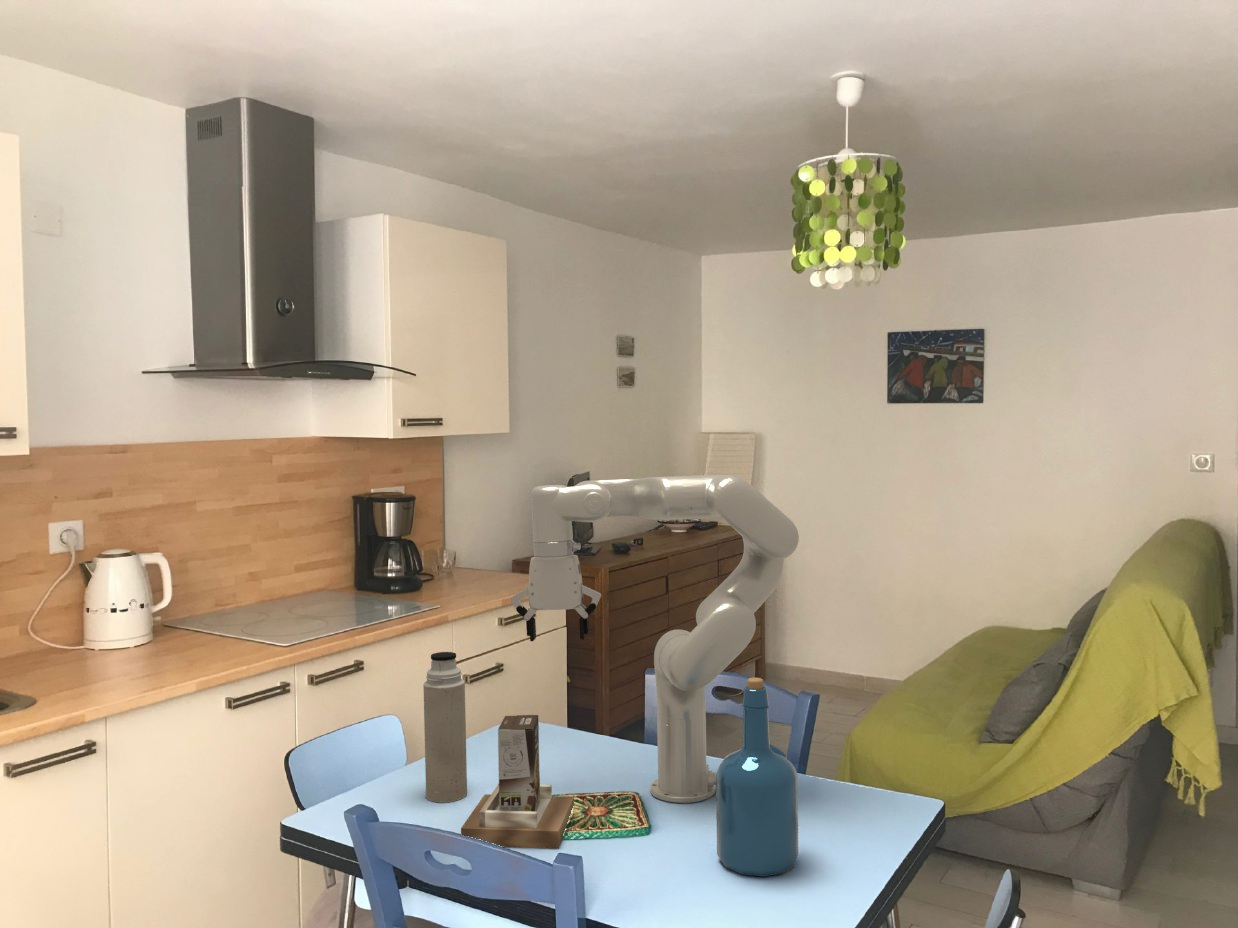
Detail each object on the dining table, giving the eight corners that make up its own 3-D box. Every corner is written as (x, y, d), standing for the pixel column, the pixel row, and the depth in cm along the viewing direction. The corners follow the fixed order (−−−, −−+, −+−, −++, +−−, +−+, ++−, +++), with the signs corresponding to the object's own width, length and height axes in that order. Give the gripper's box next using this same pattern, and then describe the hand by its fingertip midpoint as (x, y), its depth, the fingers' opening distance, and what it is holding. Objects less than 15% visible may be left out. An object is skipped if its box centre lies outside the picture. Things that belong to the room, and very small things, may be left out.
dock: (574, 812, 182) (573, 783, 182) (558, 848, 166) (558, 816, 166) (484, 809, 184) (484, 780, 184) (461, 845, 168) (460, 813, 168)
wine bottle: (779, 886, 151) (777, 693, 150) (703, 867, 158) (700, 683, 157) (812, 853, 162) (809, 674, 162) (739, 837, 169) (736, 665, 169)
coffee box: (535, 820, 170) (533, 728, 170) (498, 820, 171) (496, 728, 170) (541, 800, 179) (539, 713, 179) (506, 801, 180) (504, 713, 179)
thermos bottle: (438, 786, 197) (435, 647, 196) (474, 790, 195) (471, 650, 194) (418, 800, 190) (414, 656, 189) (454, 804, 187) (451, 659, 186)
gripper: (600, 545, 190) (604, 633, 190) (512, 549, 191) (516, 636, 192) (596, 550, 182) (601, 641, 183) (505, 554, 184) (509, 644, 184)
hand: (558, 638), depth 187 cm, fingers open, 9 cm apart
